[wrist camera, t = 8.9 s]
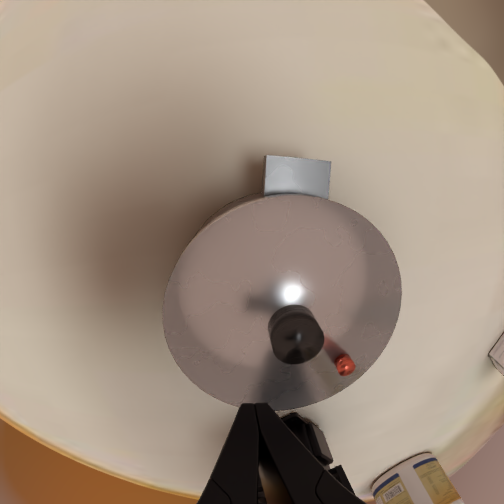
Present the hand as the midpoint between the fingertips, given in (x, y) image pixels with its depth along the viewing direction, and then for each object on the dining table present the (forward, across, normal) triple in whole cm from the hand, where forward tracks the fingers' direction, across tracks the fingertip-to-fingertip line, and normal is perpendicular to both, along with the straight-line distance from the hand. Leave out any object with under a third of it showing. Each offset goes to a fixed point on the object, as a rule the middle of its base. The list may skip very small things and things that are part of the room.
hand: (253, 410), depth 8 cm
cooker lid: (+7, -3, 0) cm, 7 cm away
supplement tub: (+11, -28, +36) cm, 47 cm away
